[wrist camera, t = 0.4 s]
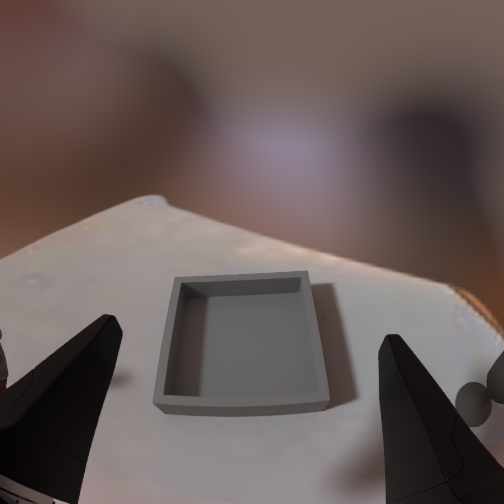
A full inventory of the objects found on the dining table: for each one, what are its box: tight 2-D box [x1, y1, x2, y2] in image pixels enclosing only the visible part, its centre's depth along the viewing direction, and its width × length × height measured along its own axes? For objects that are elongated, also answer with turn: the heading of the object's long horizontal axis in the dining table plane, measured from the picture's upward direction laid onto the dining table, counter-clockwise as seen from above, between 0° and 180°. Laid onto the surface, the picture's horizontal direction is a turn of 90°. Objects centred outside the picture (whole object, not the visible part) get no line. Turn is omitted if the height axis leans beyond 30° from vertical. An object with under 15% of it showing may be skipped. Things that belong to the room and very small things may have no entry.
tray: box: [153, 271, 330, 417], centre depth 25 cm, size 14×14×3 cm
